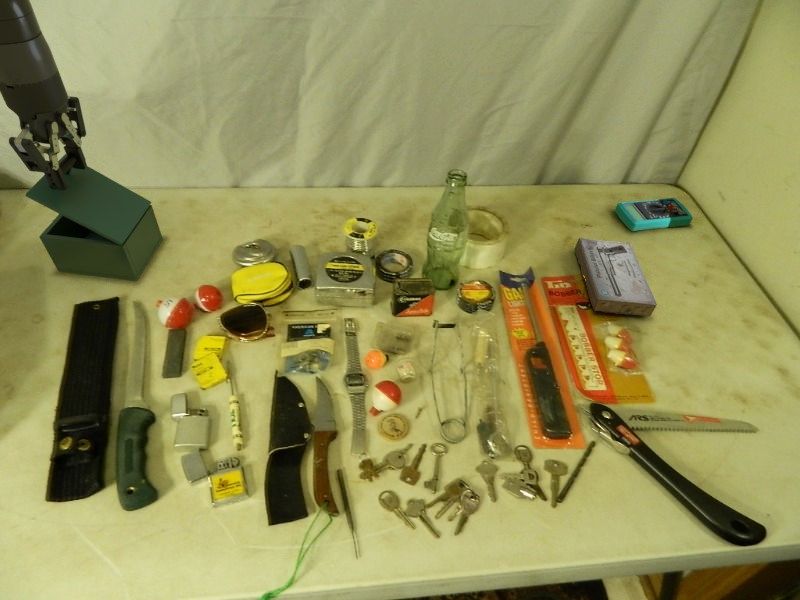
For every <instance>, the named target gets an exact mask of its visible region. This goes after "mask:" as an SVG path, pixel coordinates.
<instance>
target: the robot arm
mask: <svg viewBox="0 0 800 600" xmlns="http://www.w3.org/2000/svg"><path fill="white" fill-rule="evenodd" d="M0 94H1V97H2V100H3V101H4V103H5V105H6V107H7V108H8V110H11V111H12V112H13V113H14V114H15V115H16V116H17V117H18V120H19V129H20V132H19V133H18V135H17V136H10V137H9V138H8V144H9V145H10V147H11V148H12V150H13V151H14V152H15V153H16V156H18V158H19V159H20V160H21V162H22V163H23V164H24V166H25V167H26V168H27V169H28V171H29V172H33V173H34V172H35V173H42V174H43V173H44V175H45V176H46V178H47V180H48V182H49V185H50V186H51V187H52V188H54V189H58V190H66V189H67V188H68V184H67V181H66V179H65V177H64V174H63V172H62V170H61V167H59V164H58V161H59V158H58V157H59V156H58V154H59V153H60V152H61V150H60V143H61V144H62V145H64V146H63V149H64V152H65V154H66V155H67V154H68V153H72V154H74V155H76V156H77V158H78V161H77V162H76V163H75V165H74V166H73V168H75V169H82V170H84V169H85V168H86V167H87V166H88V164H87V160H86V157H85V154H84V152H83V149H82V144H83V142H82V138H85V137H86V136H87V131H86V126H85V125H86V124H85V121H84V116H83V111H82V106H81V102H80V99H79V97H77V96H72V95H71V96H70V95H68V92H67V90H66V86H65V84H64V81H63V78H62V76H61V73H60V71H59V68H58V66H57V63H56V60H55V58H54V55H53V52H52V50H51V47H50V46H49V43H48V41H47V39H46V37H45V36H44V33H43V31H42V29H41V26H40V23H39V20H38V19H37V15H36V13H35V10H34V8H33V6H32V3H31V1H30V0H0ZM73 122H75V123H76V124H75V125H76V127H75V126H74V125H73ZM59 142H60V143H59ZM41 144H45V145H41ZM46 145H49V146H46ZM45 154H46V155H47V156H48V160H47V159H46V158H45Z"/></svg>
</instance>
